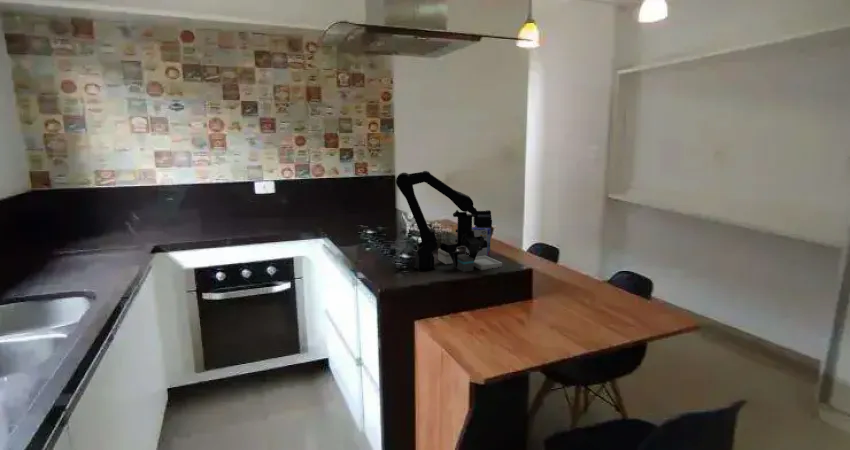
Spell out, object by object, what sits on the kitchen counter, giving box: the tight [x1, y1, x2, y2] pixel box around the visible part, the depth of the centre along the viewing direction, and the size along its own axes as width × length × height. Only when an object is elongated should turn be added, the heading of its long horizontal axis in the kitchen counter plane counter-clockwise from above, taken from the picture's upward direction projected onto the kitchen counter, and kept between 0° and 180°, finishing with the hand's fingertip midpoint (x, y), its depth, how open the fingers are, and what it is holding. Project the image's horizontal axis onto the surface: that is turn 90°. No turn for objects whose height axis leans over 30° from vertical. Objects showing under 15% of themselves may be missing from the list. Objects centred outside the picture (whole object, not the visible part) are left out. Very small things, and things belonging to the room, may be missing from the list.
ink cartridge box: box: [465, 225, 492, 257], centre depth 202 cm, size 10×6×14 cm, turn 66°
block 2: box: [454, 253, 474, 273], centre depth 184 cm, size 5×7×5 cm, turn 26°
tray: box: [473, 256, 503, 271], centre depth 189 cm, size 10×12×2 cm
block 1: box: [437, 248, 454, 265], centre depth 194 cm, size 5×7×5 cm, turn 26°
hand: (463, 266), depth 184 cm, fingers open, 7 cm apart
